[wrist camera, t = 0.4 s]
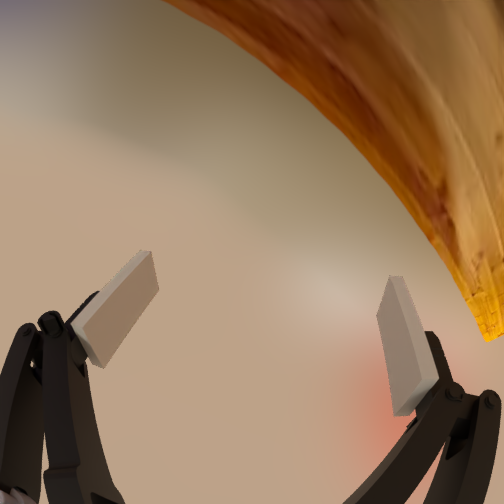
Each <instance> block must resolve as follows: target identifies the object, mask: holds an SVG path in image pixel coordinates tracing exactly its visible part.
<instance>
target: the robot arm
mask: <svg viewBox="0 0 504 504" xmlns="http://www.w3.org/2000/svg"><path fill="white" fill-rule="evenodd" d="M158 291H159V287H158V282H157V277H156V273H155V268H154V263H153V258H152V252H151V251H145V250H140V251H139V252H138V253H137V254H136V255H135V256H134V257H133V258H132V259H131V260H130V261H129V262H128V263H127V264H126V265H125V266H124V267H123V268H122V269H121V270H120V271H119V272H118V273H117V274H116V275H115V276H114V277H113V278H112V279H111V280H110V281H109V282H108V283H107V284H106V285H105V287H103V288H102V290H101V291H96V292H95V293H93V294H92V295H90V296H89V297H88V298H87V299H86V300H85V302H84V303H82V305H81V306H80V308H78V309H77V310H76V311H75V312H74V313H73V314H72V316H71V317H70V318H69V319H68V320H67V321H66V322H65V323H64V322H63V320H62V318H61V316H60V314H59V313H58V312H57V311H48V312H46V313H44V314H43V315H42V316H41V317H40V318H39V319H38V322H37V323H38V325H39V327H40V329H41V331H38V330H37V328H36V326H35V325H34V324H33V323H26V324H24V325H22V326H21V327H20V328H19V329H18V331H17V333H16V335H15V337H14V340H13V342H12V345H11V347H10V350H9V352H8V355H7V358H6V360H5V363H4V366H3V369H2V372H1V374H0V504H39V499H40V492H41V469H42V452H43V440H44V432H45V440H46V448H47V455H48V461H49V468H48V469H47V470H45V471H44V474H43V479H44V484H45V489H46V493H47V498H48V502H49V504H125V502H124V500H123V498H122V496H121V494H120V493H119V491H118V490H117V488H116V487H115V486H114V484H113V482H112V478H111V475H110V472H109V469H108V466H107V463H106V459H105V456H104V452H103V448H102V444H101V441H100V437H99V432H98V428H97V424H96V419H95V414H94V409H93V403H92V397H91V391H90V385H89V378H88V370H87V365H86V362H85V360H86V359H87V357H89V359H90V361H91V363H92V364H93V365H96V366H98V367H100V368H103V369H104V368H105V366H106V365H107V363H108V362H109V360H110V359H111V357H112V356H113V354H114V353H115V351H116V350H117V349H118V347H119V346H120V344H121V343H122V341H123V340H124V338H125V337H126V336H127V334H128V333H129V331H130V330H131V328H132V327H133V325H134V324H135V323H136V321H137V320H138V318H139V317H140V316H141V314H142V313H143V311H144V310H145V309H146V307H147V306H148V305H149V303H150V302H151V300H152V299H153V298H154V296H155V295H156V293H157V292H158ZM377 320H378V324H379V329H380V334H381V338H382V343H383V349H384V354H385V360H386V365H387V371H388V377H389V383H390V390H391V398H392V405H393V413H394V416H408V415H410V414H411V413H412V412H413V410H414V409H415V410H416V417H415V418H414V419H413V420H412V422H410V423H409V425H408V426H407V429H406V431H405V432H404V434H403V435H402V436H401V438H400V439H399V440H398V442H397V443H396V445H395V446H394V447H393V448H392V450H391V451H390V452H389V453H388V455H387V456H386V457H385V458H384V460H383V461H382V462H381V463H380V464H379V466H378V467H377V468H376V469H375V470H374V471H373V473H372V474H371V475H370V476H369V477H368V478H367V479H366V480H365V481H364V482H363V484H362V485H361V486H360V487H359V488H358V489H357V490H356V491H355V492H354V493H353V494H352V495H351V496H350V497H349V498H348V499H347V500H346V501H345V502H344V503H343V504H404V503H405V502H406V501H407V499H408V498H409V497H410V495H411V494H412V493H413V491H414V490H415V489H416V487H417V486H418V484H419V483H420V482H421V480H422V479H423V477H424V475H425V474H426V473H427V471H428V469H429V468H430V466H431V465H432V463H433V462H434V460H435V458H436V457H437V455H438V453H439V452H440V450H441V448H442V446H443V445H444V443H445V445H444V448H443V452H442V455H441V458H440V461H439V464H438V467H437V470H436V473H435V475H434V478H433V481H432V483H431V486H430V488H429V491H428V493H427V496H426V498H425V500H424V502H423V504H483V503H484V500H485V496H486V493H487V489H488V486H489V482H490V478H491V474H492V469H493V465H494V460H495V455H496V449H497V443H498V435H499V428H500V418H501V399H500V397H499V395H498V394H497V393H496V392H495V391H493V390H485V391H483V393H482V394H481V395H480V396H475V395H470V394H467V393H465V391H464V389H463V388H462V386H460V385H459V384H458V383H456V382H454V381H453V379H452V376H451V372H450V369H449V366H448V363H447V360H446V357H445V356H444V351H443V349H442V346H441V344H440V341H439V339H438V337H437V336H436V335H435V334H434V333H433V331H424V330H423V327H422V324H421V322H420V319H419V316H418V313H417V311H416V309H415V306H414V303H413V301H412V298H411V296H410V294H409V291H408V289H407V286H406V284H405V282H404V279H403V277H401V276H389V279H388V282H387V285H386V289H385V292H384V295H383V298H382V301H381V304H380V307H379V310H378V313H377ZM31 361H32V362H33V363H34V364H33V367H31V366H30V364H31Z"/></svg>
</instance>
